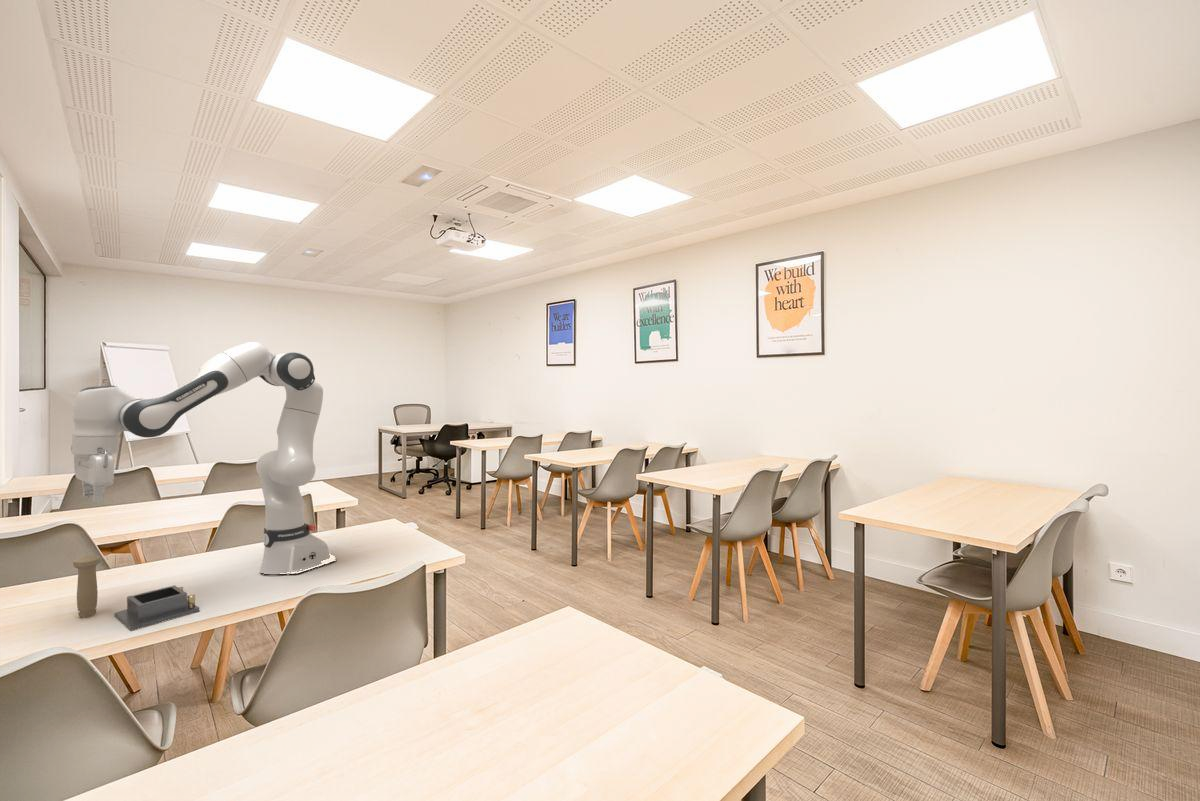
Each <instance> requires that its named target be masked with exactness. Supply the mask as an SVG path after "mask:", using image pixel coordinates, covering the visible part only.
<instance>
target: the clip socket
mask: <svg viewBox="0 0 1200 801" xmlns="http://www.w3.org/2000/svg"><path fill="white" fill-rule="evenodd" d="M199 612H200V606H197V604H196V594H189V595H188V593H187V592H186V591H184V586H179V587H178V586H177V585H171V586H166V587H162V588H158V589H153V590H150V591H146V592H141V593H138V594H134V595H130V596H126V609H124V610H119V611H115V612H114V617H115V618H116V619H117V620H118V621H119V622H120V623H121V624H123V626H124V627H125V628H127V629H128V630H129V631H130V632H133V631H136V630H139V629H142V627H143V628H147V627H149V626H153V625H157V624H160V623H159V622H161V623H163V622H162V621H164V622H166V621H165V620H168V619H171V620H173V619H172V618H175V619H177V617H178V618H181V617H184V616H189V615H190V614H191V615H192V614H195V613H199ZM168 621H169V620H168ZM156 623H157V624H156ZM138 628H139V629H138ZM135 629H136V630H135Z"/></svg>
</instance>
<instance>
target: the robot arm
mask: <svg viewBox="0 0 1200 801" xmlns="http://www.w3.org/2000/svg"><path fill="white" fill-rule="evenodd" d="M314 371H315V368H314V365H313V362H312V360H311V359H310V358H309V357H307V356H306V355H305V354H302V353H299V352H281V353H274V354H273V353H271V352H270V349H268V348H267V347H266V346H265V345H264V344H262V343H261V342H258V341H248V342H244V343H241V344H238V345H236V346H232V347H230V348H228V349H226V350H224V351H221V352H219V353H218V354H216V355H214V356H212V357H210V358H209V359H208V360H206V361H205V362H204V363H202V364H201V365H200V367H199V368H198V373H197V375H196V377H194V378H193V380H190V381H189V382H188V383H186V384H183V385H182V386H180V387H178V388H176V389H174V390H173V391H171V392H169V393H168V394H166V395H163V396H160V397H156V398H149V399H146V398H142V397H139V396H137V395H134V394H131V393H129V392H127V391H124V390H123V389H121V388H120V387H119V386H117V385H110V384H109V385H98V386H97V385H96V386H89V387H85V388H82V389H80V391H78V393H77V395H76V398H75V401H74V408H73V417H72V418H73V422H74V430H73V432H72V436H71V438H72V439H71V447H70V452H71V455H73V464H74V465H73V467H74V475H75V478H76V479H77V480H79V481H81V486H82V496H83V498H85V499H86V498H87V499H88V498H89V499H91V498H92V502H93V503H102V502H104V495H105V493H106V490H107V486H112V485H113V484H114V481H115V461H114V457H113V454H119V450H120V448H119V446H120V445H119V444H120V433H121V432H128V433H131V434H132V435H134V436H136V437H140V438H156V437H160V436H161V435H165V433H168V431H169V430H170V429H172V427H173V426H174V425H175V423H176V422H177V421H178V419H179V418H180V417H181V416H183V415H184V414H186V413H187V412H189V411H190V410H192V409H193V408H196V407H197V406H199V405H200V404H202V403H204V402H206V401H208V400H209V399H211V398H213V397H216V396H217V395H218V396H219V395H220V394H224V393H227V392H229V391H232V390H234V389H237V388H238V387H241V386H242V385H244V384H246V383H248V382H250V381H251V380H253V379H254V378H258V377H259V378H260V379H262V380H263V381H264V382H266V383H267V384H269V385H272V386H275V387H284V390H285V394H286V397H285V398H286V399H285V402H284V404H283V407H282V411H281V414H280V418H279V420H278V424H277V428H276V434H277V450H272V451H268V452H266V453H263V454H262V455H260V457H259V458H258V459H257V461H256V464H255V465H256V466H255V469H256V472H257V474H258V477H259V480H260V485H261V490H262V495H263V499H264V508H265V510H264V511H265V512H264V513H265V527H264V528H263V546H264V550H263V551H264V552H263V558H262V562H261V566H260V569H259V571H260V572H261V573H264V574H280V573H287V572H290V573H291V572H299V571H303V570H305V569H308V568H311V567H314V566H317V565H319V564H322V563H321V561H323V560H326V559H329V558H330V555H329V553H330V551H329V546H328V544H327V542H325V541H324V540H322V539H320V538H318V537H317V536H315V535H313V534H311V532H315V531H316V529H317V526H316V525H314V524H308V523H305V500H304V498H303V496H302V494H301V489H300V486H305V485H307V484H309V483H310V482H311V481H312V480H313V478H314V477H315V475H316V465H315V463H314V439H315V434H316V429H317V425H318V422H319V418H320V414H321V410H322V406H323V400H324V398H323V397H324V389H323V388H324V387H322V385H321V384H320V383H318V382H317V381H316V377H315V373H314ZM310 531H311V532H310ZM300 569H302V570H300ZM260 572H259V573H260ZM261 573H260V574H261ZM264 574H263V575H264Z"/></svg>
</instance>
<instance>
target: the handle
mask: <svg viewBox="0 0 1200 801" xmlns="http://www.w3.org/2000/svg"><path fill="white" fill-rule="evenodd" d="M100 563H101V556H100V555H94V554H93V555H91V554H90V555H85V556H84V555H83V556H80V557H75V559H73V562H72V564H73V567H74V568H76V569H77V573H78V575H77V585H76V605H77V611H78V613H77V615H78V618H81V619H82V618H83V619H85V618H89V617H93V616H94V615H96V613H97V606H98V597H99V596H98V594H99V592H98V580H97V565H99V564H100Z"/></svg>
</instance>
